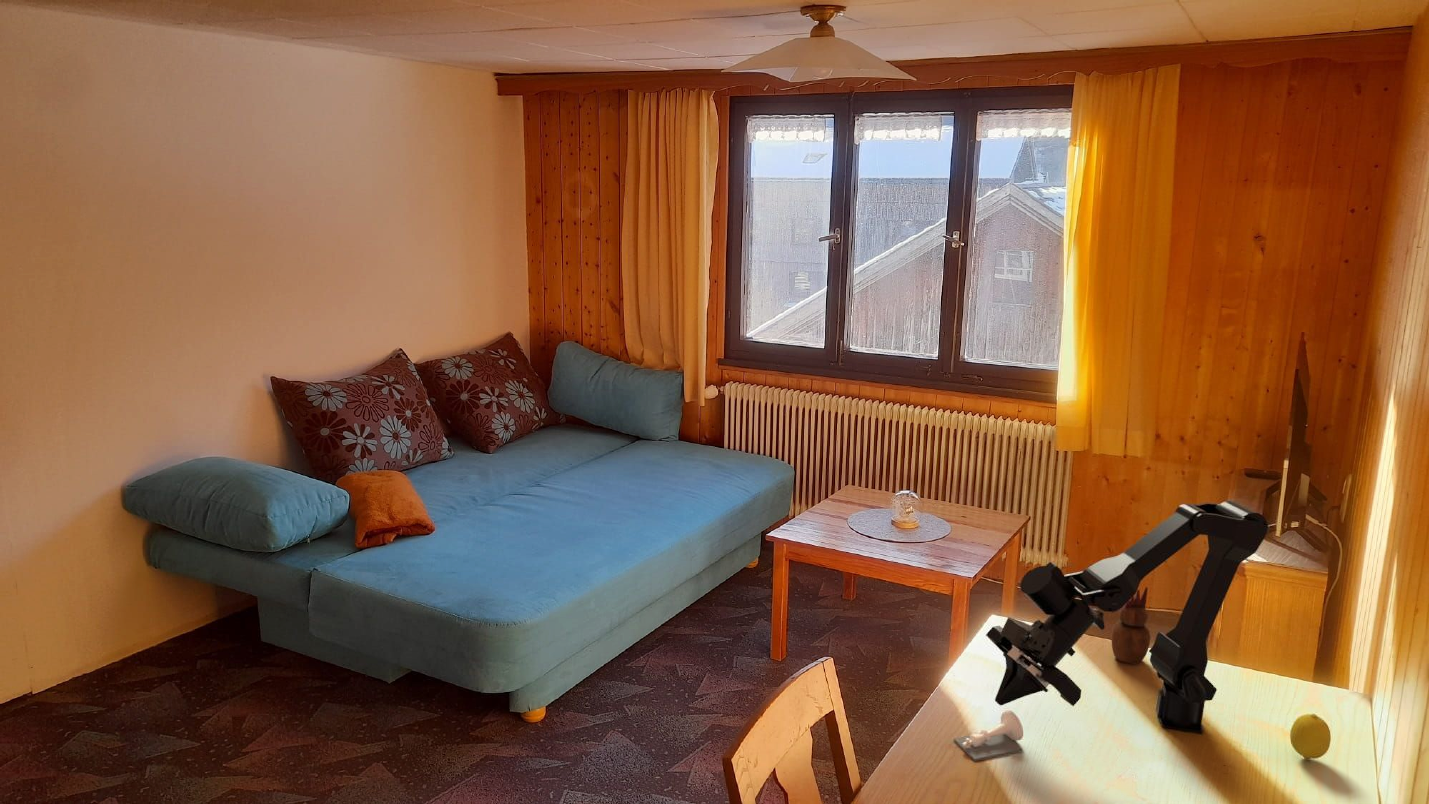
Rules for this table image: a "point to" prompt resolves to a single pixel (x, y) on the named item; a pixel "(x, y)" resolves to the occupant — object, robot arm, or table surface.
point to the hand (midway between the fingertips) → (997, 703)
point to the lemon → (1310, 736)
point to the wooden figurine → (1132, 631)
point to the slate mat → (990, 747)
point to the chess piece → (999, 730)
